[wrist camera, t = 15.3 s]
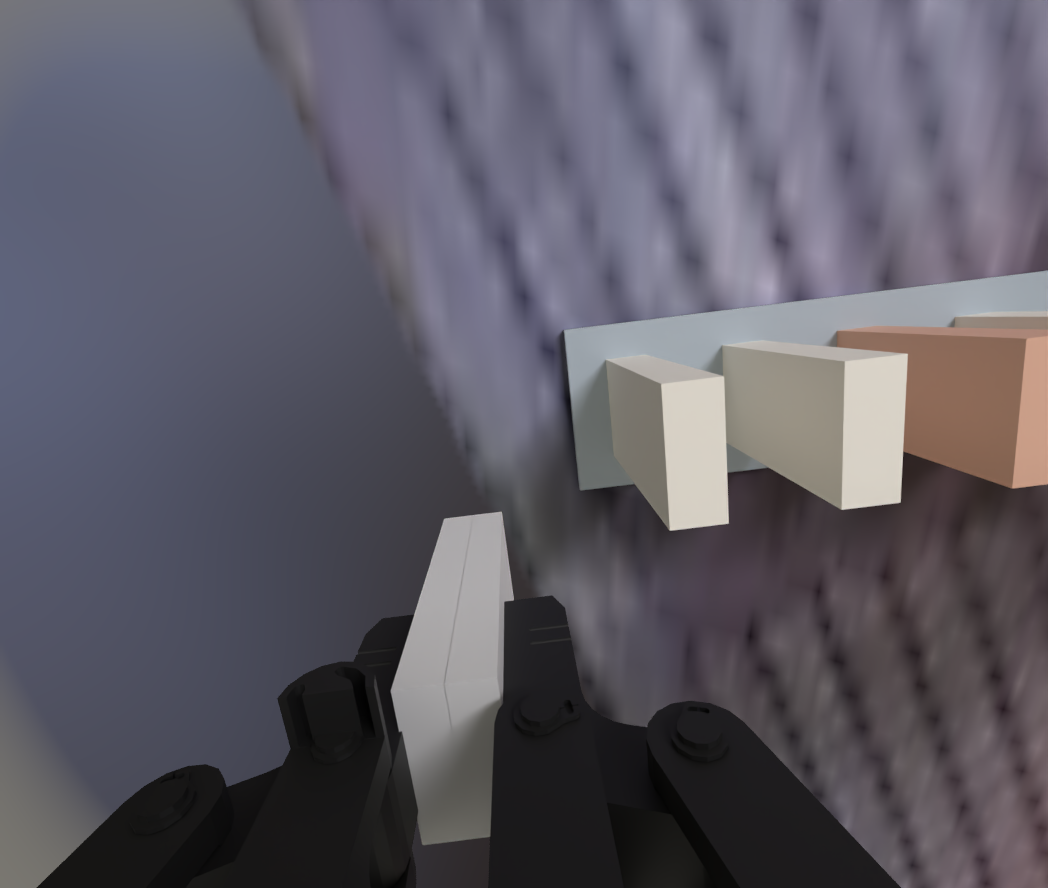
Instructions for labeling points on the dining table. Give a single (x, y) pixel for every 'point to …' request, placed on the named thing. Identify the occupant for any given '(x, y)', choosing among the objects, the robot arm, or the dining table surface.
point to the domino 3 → (1005, 320)
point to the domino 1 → (820, 417)
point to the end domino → (671, 437)
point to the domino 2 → (972, 397)
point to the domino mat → (789, 322)
